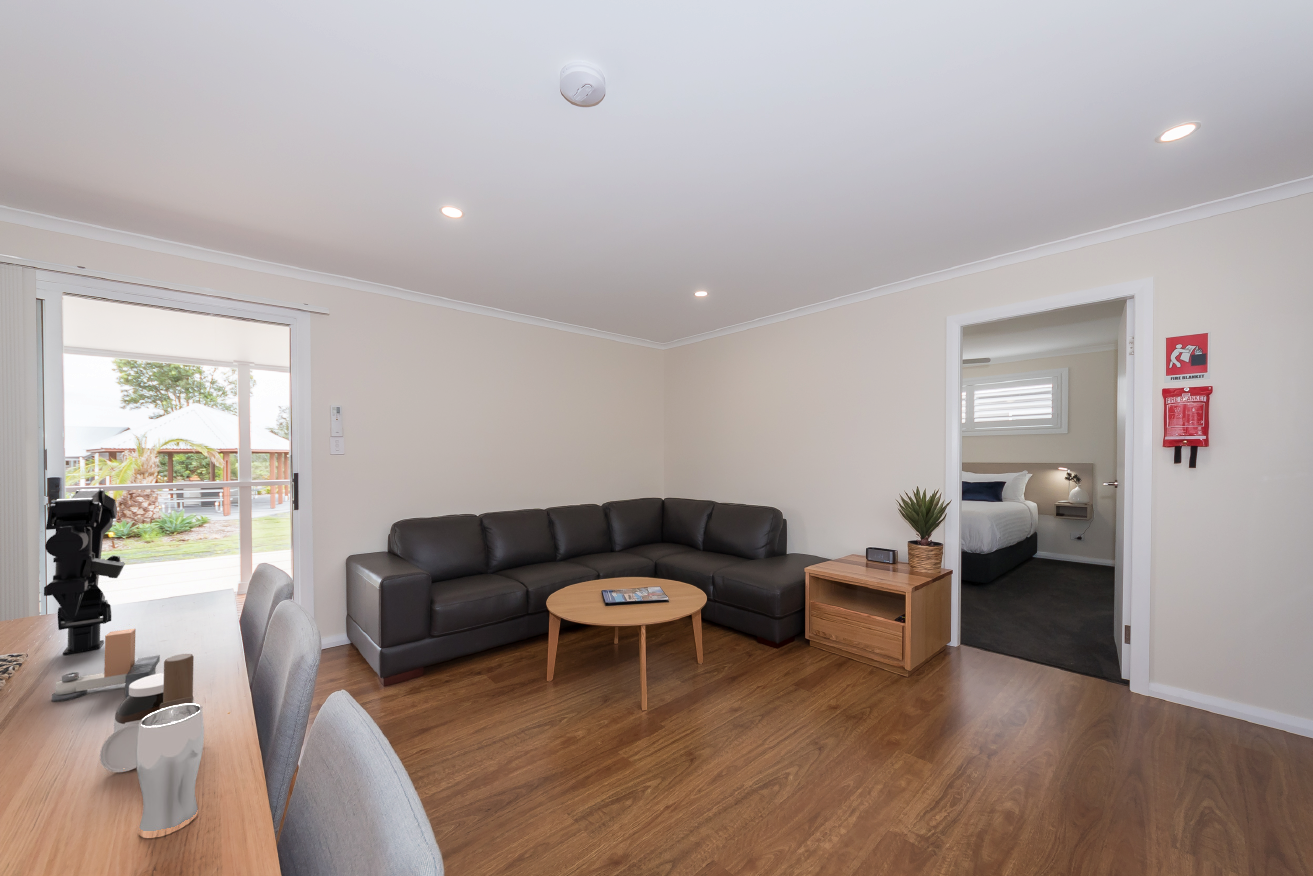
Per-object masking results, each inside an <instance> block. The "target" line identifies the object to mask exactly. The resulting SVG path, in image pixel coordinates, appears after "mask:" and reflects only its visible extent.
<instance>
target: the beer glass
mask: <svg viewBox="0 0 1313 876" xmlns="http://www.w3.org/2000/svg"><path fill="white" fill-rule="evenodd" d="M203 715H204V714H203V705H202V704H199V703H194V704H181V705H176V706H171V707H167V708H164V709H161V710H158V711H156V712H153V713H151V714H149V715H147V716H146V717H144V718H143V719H141V721H140V722H139V730H138V737H137V746H136V773H137V779H138V783H139V786H140V787H139V788H140V792H141V797H142V802H143V803H142V804H143V805H142V806H143V807H142V814H141V819H140V824H139V827H138V828H140V829H141V830H143V831H156V830H161V829H166V828H171V827H175V826H177V825H179V824H181V823H182V822H184V821H185V820H188V819H190V818H191V817H193V815H195V814H196V812H197V810H198V811H199V807H198V802H197V799H196V782H197V779H198V778H197V777H198V773H199V769H200V764H201V760H202V755H203V750H204V739H205V730H204V729H205V726H204V716H203Z"/></svg>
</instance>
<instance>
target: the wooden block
mask: <svg viewBox="0 0 1313 876" xmlns="http://www.w3.org/2000/svg"><path fill="white" fill-rule="evenodd" d="M194 658H195V657H194V655H193V653H180V654H176V655H173V656H170V657H167V658H166V659H165V660H164V662H163V673H164V688H163V703H161V704H160V710H161V709H164V708H167V707H171V706H176V705H181V704H193V698H194V696H193V695H194Z"/></svg>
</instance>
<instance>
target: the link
mask: <svg viewBox="0 0 1313 876" xmlns="http://www.w3.org/2000/svg"><path fill="white" fill-rule="evenodd" d="M135 660H136V628H129V629H121V630H113V631H109V632H108V633H107V634H106V635H105V638H104V671H103V672H104V673H103V672H101V673H97V674H91V675H82V676H80V675H79V678H78V679H77V680H74V681H70V682H62V679H61V680H58V681H57V682H56V683H55V692H56V694H57V695H63V694H69V693H73V692H76V691H82V690H94V689H99V688H105V687H112V686H118V685H123V684H124V685H125V682H126V675H127V673H128V672H129V671H130V669H131V668H132V666H133V665H134V664H135V662H136V661H135ZM156 669H157V667H156V668H155V674H157V673H156V672H157V671H156Z"/></svg>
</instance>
